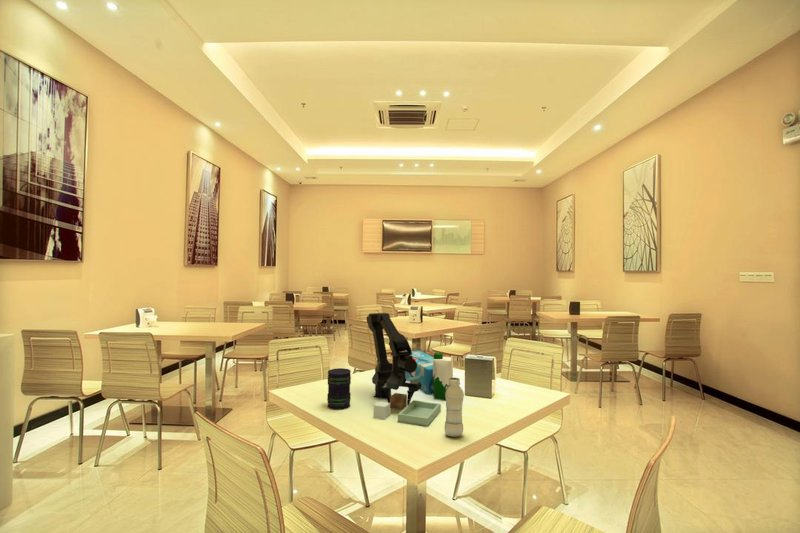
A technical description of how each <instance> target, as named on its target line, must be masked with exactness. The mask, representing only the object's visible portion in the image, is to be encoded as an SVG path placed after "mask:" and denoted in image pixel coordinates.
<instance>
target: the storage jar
mask: <svg viewBox="0 0 800 533" xmlns="http://www.w3.org/2000/svg"><path fill="white" fill-rule="evenodd" d="M351 378H352V376H351V369H348V368H344V367H343V368H331V369H329V370H328V371H327V386H328V387H327V389H328V391H327V392H328V393H327V397H326V398H327V399H326V400H327V408H328V409H329V410H334V411H341V410H346V409H349V408H350V407H351V397H352V396H351V384H352V379H351Z"/></svg>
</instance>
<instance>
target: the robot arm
mask: <svg viewBox="0 0 800 533" xmlns="http://www.w3.org/2000/svg"><path fill="white" fill-rule="evenodd" d="M366 324H367V326H368V329H369V330H370V331H371V333H372V335H373V336H372V337H373V343H374V348H375V355H376V360H377V361H376V362H377V363H376V366H375V368H374V374H373V375H372V378H371V382H372V384H373V385H374V395H373V398H376V399H381V400H382V399H384V400H386V401H387V403H390V396H392V390H395V391H397V390H398V389H399V388H401V387H402V388H407V391H406V392H407V406H408V405H409V404H410V403H411V402H412V401H411V400H412V398H413V396H414V393H416V392H418V391H420V389H421V383H420V382H419V381H411V382H406V381H407V379H406V372H408V373H412V372H414V371H415V370H416V368H417V363H416V361H415V360H414V359H413V356H411V355H412V352H411V351H413V350H412V348H411V347H410V343H409V340H408V339H407V338H406V336H404V334H402V333H400V332H399V331H398V329H397V327H396V326H395V324H394V323H393V321H392V319H391V315H390V314H389V313H387V312H377V313H375V312H373V313H371V312H370V313H369V314H368V315H366ZM384 332H385V334H386V335H387V337H388V340H389V341H388V346H389V349H390V351H391V353H390V356H392V360H391V362H390V361H388V355H387V349H386V348H387V347H386V342H385V335H384Z"/></svg>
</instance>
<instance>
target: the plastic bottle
mask: <svg viewBox="0 0 800 533" xmlns="http://www.w3.org/2000/svg"><path fill="white" fill-rule="evenodd" d="M460 380H461V379H460V378H458V377H453V378H449V384H450V386H449V387H448V388H447V390H446V392H445V398H446V400H445V403H446V404H445V407H446V410H445V412H446V415H445V422H444V427H443V428H444V433H445V435H446V436H448V437H451V438H458V437H461V436H462V435H463V432H464V423H463V402H464V396H465V393H464V391H463V389H462V388H461V382H460Z"/></svg>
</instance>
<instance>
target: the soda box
mask: <svg viewBox="0 0 800 533" xmlns="http://www.w3.org/2000/svg"><path fill="white" fill-rule="evenodd" d="M411 352H412V355H411V356H413V359H414V360H415V361H416V363H417V368H416V370H415V371H414V372H412V373H408V372H406V381H408V383H410V382H411V381H419V382H420V383H421V389H419V391H421V392H423V393H424V394H425V395H427V396H429V395H430V396H431V395H434V393H433V360H434V356H431V355H430V354H427V353H425V352H424V351H422V350H412V351H411Z"/></svg>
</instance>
